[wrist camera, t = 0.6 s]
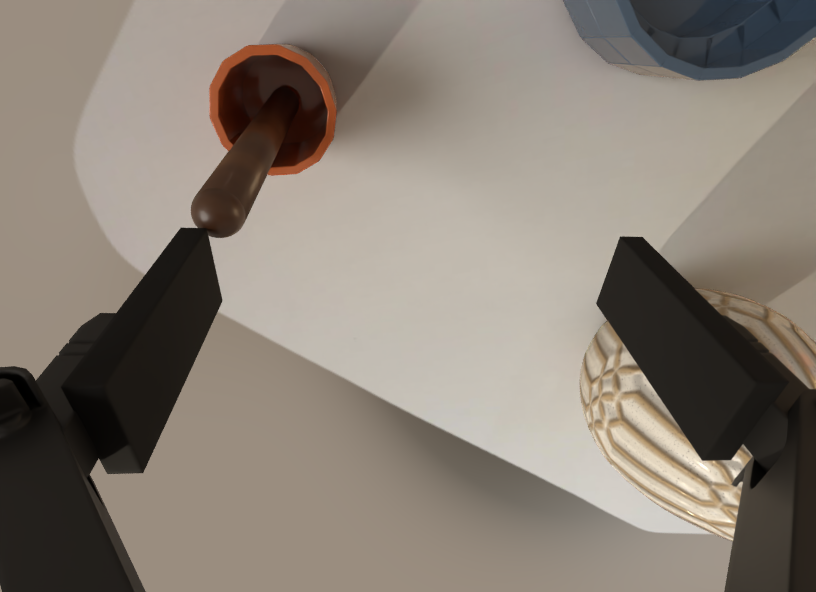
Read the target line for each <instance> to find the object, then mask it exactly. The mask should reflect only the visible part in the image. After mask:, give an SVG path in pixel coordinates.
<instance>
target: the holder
mask: <svg viewBox="0 0 816 592" xmlns="http://www.w3.org/2000/svg"><path fill="white" fill-rule="evenodd" d="M281 87H286V88H289V89H291V90H292V91H294V92H295V94H296V95H297V97H298V100H299V108H298V111H297V113H296V115H295V117H294V119H293V121H292V124H291V126H290V128H289V130H288V132H287V134H286V136H285V138H284V140H283V142H282V145H281V147H280V149H279V151H278V153H277V155H276V157H275V159H274V161H273V163H272V166H271V168H270V170H269V172H268V175H271V176H274V175H288V174H297V173H300V172H301V171H303V170H305V169H307V168H308V167H310V166H312V165H313V164H315V163H317V162H318V161H319V160H320V159H321V158H322V156H323V155H324V153H325V151H326V150H327V148H328V147H329V145H330V144H331V142H332V140H333V138H334V131H335V122H336V113H337V108H336V95H335V91H334V88H333V84H332V82H331V79H330V76H329V74H328V72H327V71H326V70H325V69H324V67H323V66H322V64H321V63H320V62H319V61H318V60H317V59H316V58H315V57H314V56H313V55H312V54H310V53H308V52H306V51H304V50H302V49H300V48H297V47H295V46H293V45H290V44H269V45H248V46H246V47H244V48H242V49H241V50H239V51H238V52H236V53H235V54H233V55H231V56H230V57H228V58H227V59H225V60H224V61H223V62H222V63H221V65H220V67H219V69H218V71H217V73H216V75H215V77H214V79H213V81H212V83H211V85H210V88H209V106H210V119H211V122H212V124H213V126H214V128H215V130H216V133H217V135H218V137H219V139H220V141H221V144H222V145H223V146H224V147H225V148H226V149H227V150H228V151H229V150H230V149H231V148H232V146H233V145H234V144H235V142H236V141H237V140H238V138H239V137H240V136H241V134H242V133H243V132H244V130H245V129H246V128H247V126H248V125H249V124H250V122H251V121H252V120H253V118H254V117H255V116H256V114H257V113H258V111H259V110H260V109H261V107H262V106H263V105H264V103H265V102H266V101H267V99H268V98H269V97H270V95H271V94H272V93H273V91H274V90H276V89H278V88H281Z"/></svg>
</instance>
